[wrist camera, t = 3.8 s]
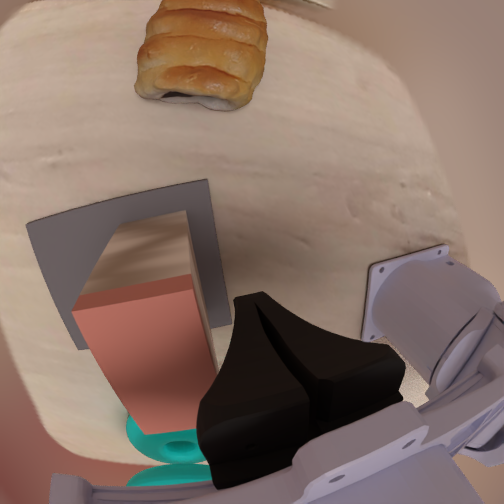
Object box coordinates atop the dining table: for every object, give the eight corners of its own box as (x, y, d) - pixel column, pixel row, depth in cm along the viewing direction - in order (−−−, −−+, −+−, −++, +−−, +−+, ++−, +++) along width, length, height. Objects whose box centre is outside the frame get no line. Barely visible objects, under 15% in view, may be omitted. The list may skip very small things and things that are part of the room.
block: (185, 210, 16) (192, 289, 8) (207, 311, 19) (230, 421, 11) (119, 224, 16) (71, 311, 8) (150, 322, 19) (144, 434, 11)
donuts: (158, 527, 16) (100, 497, 12) (152, 449, 25) (108, 398, 21) (262, 513, 18) (239, 485, 14) (238, 434, 27) (214, 378, 23)
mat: (207, 178, 16) (207, 179, 16) (231, 320, 20) (232, 324, 20) (28, 222, 14) (25, 224, 14) (79, 346, 18) (78, 350, 18)
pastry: (166, -27, 11) (166, -58, 7) (273, -12, 12) (294, -39, 9) (134, 105, 14) (122, 97, 10) (251, 116, 16) (270, 111, 12)
